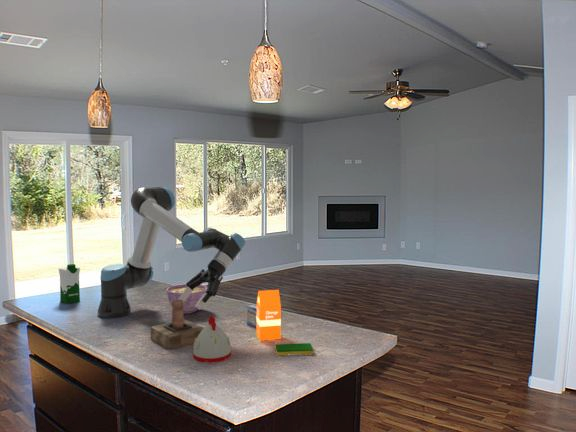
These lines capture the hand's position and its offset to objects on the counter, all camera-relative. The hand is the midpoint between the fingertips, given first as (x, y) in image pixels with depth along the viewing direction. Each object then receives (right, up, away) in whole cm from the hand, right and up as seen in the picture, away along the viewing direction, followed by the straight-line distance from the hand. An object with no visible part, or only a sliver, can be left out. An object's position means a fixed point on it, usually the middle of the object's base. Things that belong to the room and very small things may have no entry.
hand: (188, 304), depth 195 cm
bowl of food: (-9, -11, +40) cm, 42 cm away
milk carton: (-75, -9, +56) cm, 94 cm away
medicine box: (+27, -13, +18) cm, 35 cm away
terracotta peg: (-4, -14, -1) cm, 15 cm away
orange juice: (+33, -14, +2) cm, 36 cm away
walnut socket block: (-4, -14, -1) cm, 15 cm away
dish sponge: (+43, -16, -14) cm, 48 cm away
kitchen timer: (+13, -16, -19) cm, 28 cm away
